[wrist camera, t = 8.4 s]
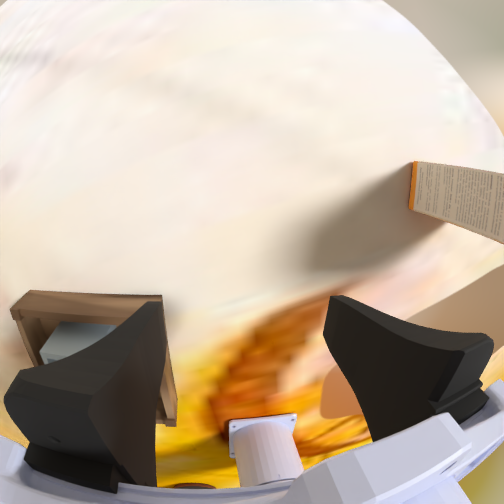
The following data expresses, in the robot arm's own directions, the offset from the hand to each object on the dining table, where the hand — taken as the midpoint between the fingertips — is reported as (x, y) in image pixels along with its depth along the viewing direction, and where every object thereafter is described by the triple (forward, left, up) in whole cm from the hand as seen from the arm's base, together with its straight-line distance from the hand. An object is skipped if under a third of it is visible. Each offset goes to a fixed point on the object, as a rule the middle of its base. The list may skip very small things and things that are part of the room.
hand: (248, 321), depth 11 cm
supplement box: (+6, -20, -10) cm, 23 cm away
